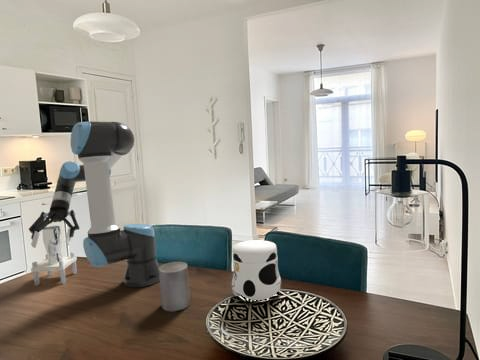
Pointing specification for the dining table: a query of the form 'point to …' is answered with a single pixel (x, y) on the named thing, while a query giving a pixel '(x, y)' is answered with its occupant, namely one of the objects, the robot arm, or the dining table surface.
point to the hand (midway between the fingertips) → (50, 244)
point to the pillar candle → (174, 286)
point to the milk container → (255, 270)
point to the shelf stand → (54, 267)
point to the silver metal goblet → (53, 244)
